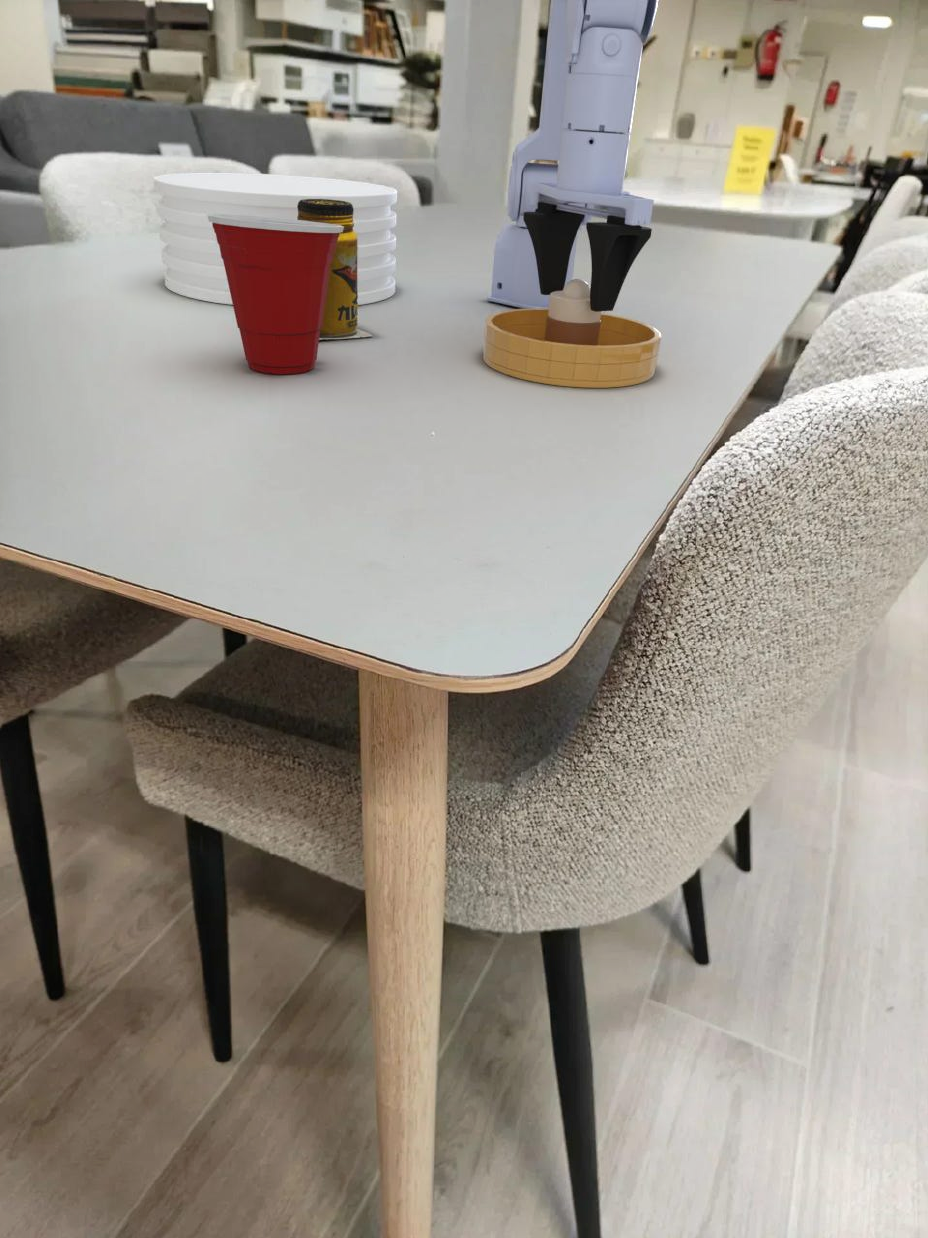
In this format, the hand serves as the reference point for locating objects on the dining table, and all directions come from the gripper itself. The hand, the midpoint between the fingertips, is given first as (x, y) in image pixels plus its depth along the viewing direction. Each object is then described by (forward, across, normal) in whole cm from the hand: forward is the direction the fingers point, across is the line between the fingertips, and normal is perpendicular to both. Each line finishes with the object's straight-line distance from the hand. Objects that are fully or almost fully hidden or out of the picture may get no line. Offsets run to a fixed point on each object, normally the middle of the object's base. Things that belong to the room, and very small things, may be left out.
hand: (575, 301), depth 79 cm
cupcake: (+5, 0, 0) cm, 5 cm away
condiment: (+6, +18, +18) cm, 26 cm away
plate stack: (+6, +43, +12) cm, 45 cm away
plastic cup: (+6, +8, +26) cm, 27 cm away
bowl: (+6, 0, 0) cm, 6 cm away
